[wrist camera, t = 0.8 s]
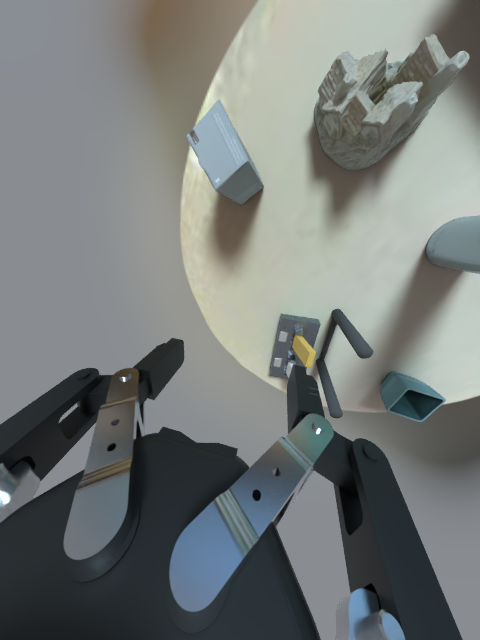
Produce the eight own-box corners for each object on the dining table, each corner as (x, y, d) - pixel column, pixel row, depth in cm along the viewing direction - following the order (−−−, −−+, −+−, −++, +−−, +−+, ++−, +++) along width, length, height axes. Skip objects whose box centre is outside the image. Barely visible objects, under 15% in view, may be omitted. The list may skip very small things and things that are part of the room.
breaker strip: (318, 319, 49) (322, 327, 44) (301, 375, 58) (303, 387, 53) (281, 313, 50) (281, 321, 46) (270, 369, 59) (269, 379, 55)
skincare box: (264, 187, 39) (255, 160, 25) (237, 208, 42) (215, 194, 28) (245, 145, 37) (222, 90, 23) (217, 170, 40) (182, 135, 26)
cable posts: (343, 309, 46) (375, 348, 30) (323, 365, 54) (340, 419, 38) (333, 308, 47) (360, 345, 31) (314, 364, 55) (328, 416, 39)
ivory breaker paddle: (293, 361, 52) (306, 382, 45) (290, 372, 53) (302, 393, 46) (288, 361, 51) (300, 382, 44) (285, 372, 53) (297, 394, 46)
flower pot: (370, 385, 54) (386, 411, 46) (388, 363, 50) (408, 387, 42) (400, 395, 53) (421, 423, 45) (420, 373, 49) (447, 400, 41)
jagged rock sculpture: (440, 116, 30) (555, 16, 17) (339, 189, 37) (364, 160, 24) (404, 11, 27) (508, -208, 14) (303, 112, 34) (307, 31, 21)
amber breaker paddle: (300, 334, 48) (316, 352, 41) (297, 346, 49) (311, 366, 42) (295, 334, 47) (309, 352, 40) (291, 347, 49) (305, 366, 42)
